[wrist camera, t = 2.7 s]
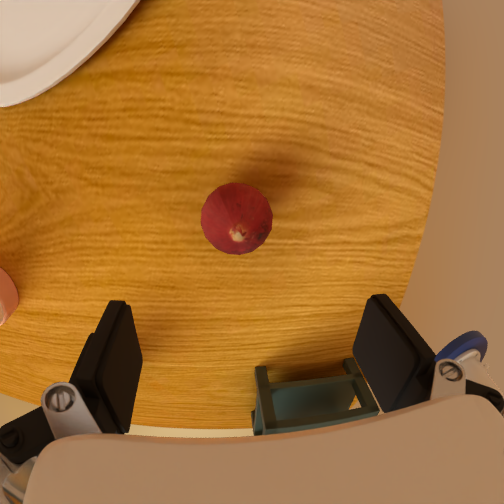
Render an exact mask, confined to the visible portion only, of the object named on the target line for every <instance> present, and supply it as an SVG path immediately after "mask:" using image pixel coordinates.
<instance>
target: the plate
mask: <svg viewBox="0 0 504 504" xmlns="http://www.w3.org/2000/svg"><path fill="white" fill-rule="evenodd" d="M139 2H140V0H0V107H8V106H12V105H16V104H20V103H22V102H25V101H27V100H29V99H32V98H34V97H36V96H38V95H40V94H41V93H43V92H45V91H46V90H48V89H50V88H52V87H53V86H55V85H56V84H57V83H59V82H60V81H62V80H63V79H64V78H66V77H67V76H68V75H70V74H71V73H73V72H74V71H75V70H76V69H77V68H78V67H79V66H81V65H82V64H83V63H84V62H85V61H87V60H88V59H89V58H90V57H91V56H92V55H93V54H94V53H95V52H96V51H97V50H98V49H99V48H100V47H101V46H102V45H103V44H104V43H105V42H106V41H107V40H108V39H109V38H110V37H111V36H112V35H113V34H114V32H115V31H116V30H117V29H118V28H119V27H120V26H121V25H122V24H123V23H124V21H125V20H126V19H127V17H128V16H129V15H130V13H131V12H132V11H133V9H134V8H135V7H136V6H137V4H138V3H139Z"/></svg>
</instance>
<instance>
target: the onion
mask: <svg viewBox="0 0 504 504" xmlns="http://www.w3.org/2000/svg"><path fill="white" fill-rule="evenodd" d="M272 218H273V214H272V211H271V209H270V206H269V203H268V201H267V199H266V198H265V197H264V196H263V195H262V193H261V192H260V191H259V190H258V189H256V188H253V187H251V186H249V185H247V184H244V183H229V184H226V185H222V186H219V187H218V188H217V189H216V190H215V191H213V192H212V193H211V194H210V195H209V196H208V198H207V200H206V202H205V204H204V206H203V208H202V213H201V226H202V229H203V231H204V234H205V237H206V238H207V239H208V240H209V242H210V243H211V244H212V245H213V246H214V247H215V248H216V249H218V250H220V251H223V252H225V253H227V254H236V255H241V254H245V253H249V252H252V251H254V250H255V249H256V248H258V247H259V246H260V245H262V244H263V243H264V241H265V240H266V238H267V236H268V235H269V233H270V231H271V230H272Z"/></svg>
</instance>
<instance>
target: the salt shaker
mask: <svg viewBox="0 0 504 504" xmlns="http://www.w3.org/2000/svg"><path fill="white" fill-rule="evenodd" d="M18 301H19V298H18V293H17V290H16V287H15V285H14V283H13V281H12V280H11V278H10V276H9V275H8V274H7V273H6V272H5V271H4V270H3V269H1V268H0V325H2V324H3V323H5V322H6V321H7V319H8V318H9V317H10V316H11V314H12V313H13V312H14V311H15V310H16V308H17V306H18Z"/></svg>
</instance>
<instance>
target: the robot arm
mask: <svg viewBox="0 0 504 504" xmlns="http://www.w3.org/2000/svg"><path fill="white" fill-rule="evenodd" d="M353 355H354V357H355V359H356V361H357V363H358V364H359V366H360V368H361V370H362V372H363V374H364V376H365V378H366V380H367V382H368V384H369V385H370V387H371V389H372V391H373V393H374V395H375V397H376V399H377V401H378V403H379V405H380V407H381V409H382V411H383V412H384V413H385V414H381V415H377V416H373V417H369V418H365V419H361V420H357V421H352V422H348V423H343V424H338V425H333V426H327V427H322V428H316V429H310V430H303V431H296V432H289V433H280V434H271V435H260V436H246V437H230V438H229V437H227V438H176V437H175V438H174V437H153V436H139V435H124V433H128V432H129V429H130V424H131V418H132V413H133V407H134V402H135V397H136V392H137V387H138V382H139V377H140V373H141V368H142V363H143V359H142V353H141V349H140V345H139V341H138V337H137V333H136V329H135V325H134V320H133V315H132V311H131V307H130V305H126V302H125V301H116V300H111V301H110V302H109V303H108V305H107V307H106V309H105V311H104V313H103V316H102V318H101V320H100V322H99V324H98V326H97V328H96V330H95V333H91V334H90V335H89V337H88V339H87V341H86V343H85V345H84V348H83V350H82V352H81V354H80V357H79V359H78V361H77V364H76V366H75V368H74V371H73V373H72V375H71V378H70V380H69V383H67V382H58V383H54V384H52V385H50V386H49V387H47V388H46V390H45V391H44V392H43V394H42V397H41V405H42V406H41V407H39V408H37V409H35V410H33V411H31V412H29V413H27V414H25V415H23V416H21V417H19V418H17V419H15V420H13V421H11V422H9V423H7V424H5V425H3V426H2V427H1V428H0V504H504V394H503V393H502V392H501V390H500V389H499V388H498V386H497V385H496V384H495V382H494V381H493V380H492V379H491V377H490V376H489V375H488V372H487V369H489V364H485V365H482V364H481V362H480V357H481V355H480V352H479V351H478V350H477V349H470V350H467V351H465V352H463V353H462V354H460V355H459V356H458V357H456V358H455V359H454V360H452V359H447V358H446V359H441V360H439V361H438V362H437V363H436V361H435V360H434V359H435V357H436V355H435V353H434V352H433V351H432V349H431V348H430V347H429V346H428V344H427V343H426V342H425V341H424V339H423V338H422V337H421V336H420V334H419V333H418V332H417V331H416V329H415V328H414V327H413V326H412V324H411V323H410V322H409V321H408V320H407V318H406V317H405V316H404V315H403V314H402V313H401V311H400V310H399V309H398V308H397V306H396V305H395V304H394V303H393V302H392V301H391V299H390V298H389V297H388V296H387V295H386V294H375V295H372V296H371V297H370V298H369V299H368V300H367V303H366V306H365V310H364V313H363V316H362V320H361V323H360V326H359V329H358V332H357V336H356V339H355V342H354V345H353Z"/></svg>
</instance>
